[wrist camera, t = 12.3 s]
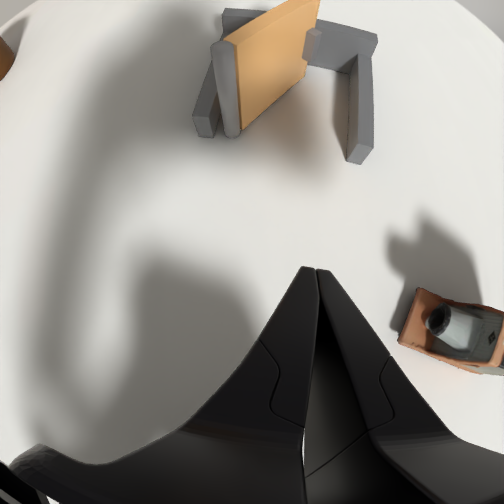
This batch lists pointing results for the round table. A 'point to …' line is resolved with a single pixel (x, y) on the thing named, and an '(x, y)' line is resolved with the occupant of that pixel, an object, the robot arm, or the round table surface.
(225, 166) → the round table surface
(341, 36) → the grey cabinet body
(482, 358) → the electronic device
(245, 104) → the side door
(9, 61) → the mug
